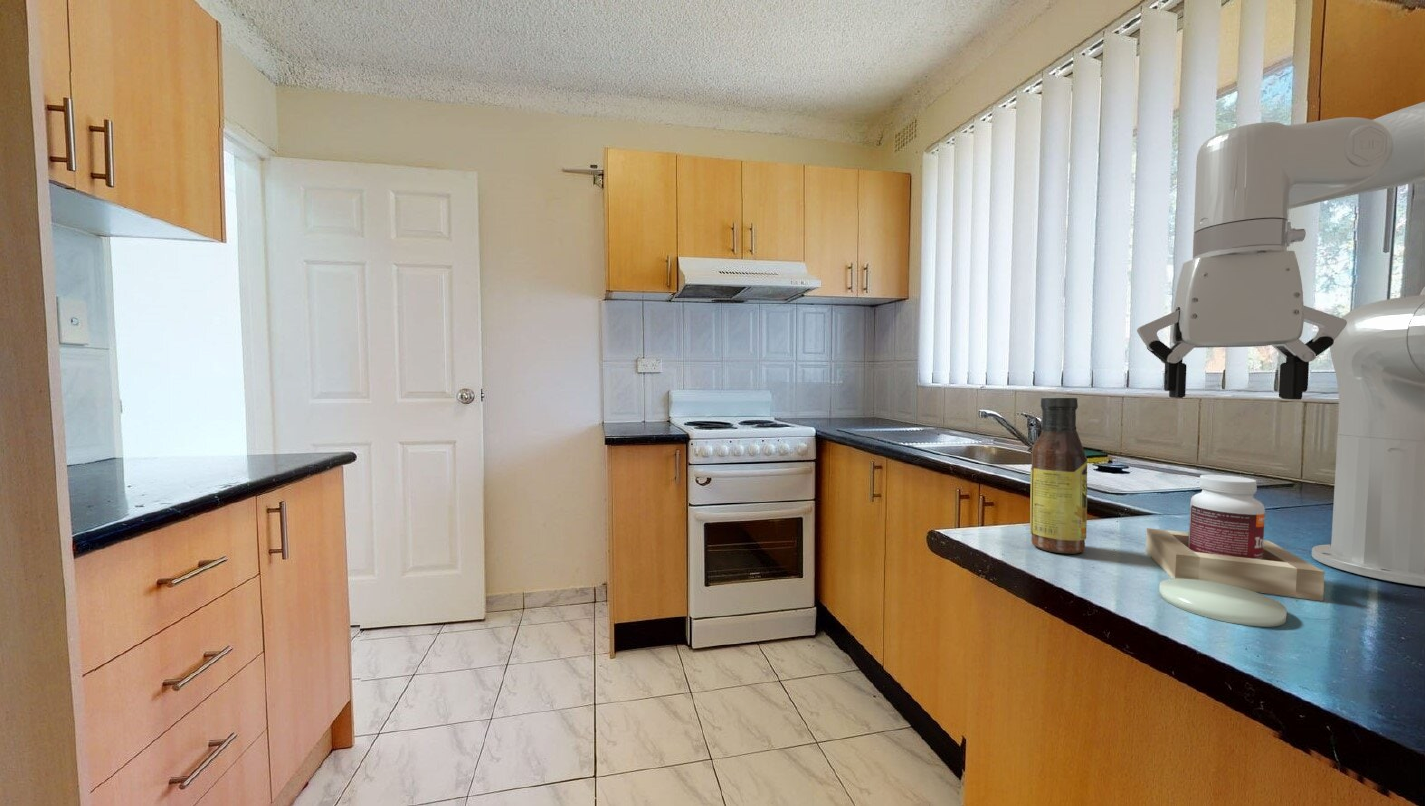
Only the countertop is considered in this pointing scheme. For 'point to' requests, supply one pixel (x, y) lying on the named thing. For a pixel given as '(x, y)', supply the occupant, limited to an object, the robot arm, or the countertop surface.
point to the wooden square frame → (1237, 567)
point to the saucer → (1223, 602)
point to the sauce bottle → (1058, 480)
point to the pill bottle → (1227, 518)
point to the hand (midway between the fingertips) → (1231, 398)
